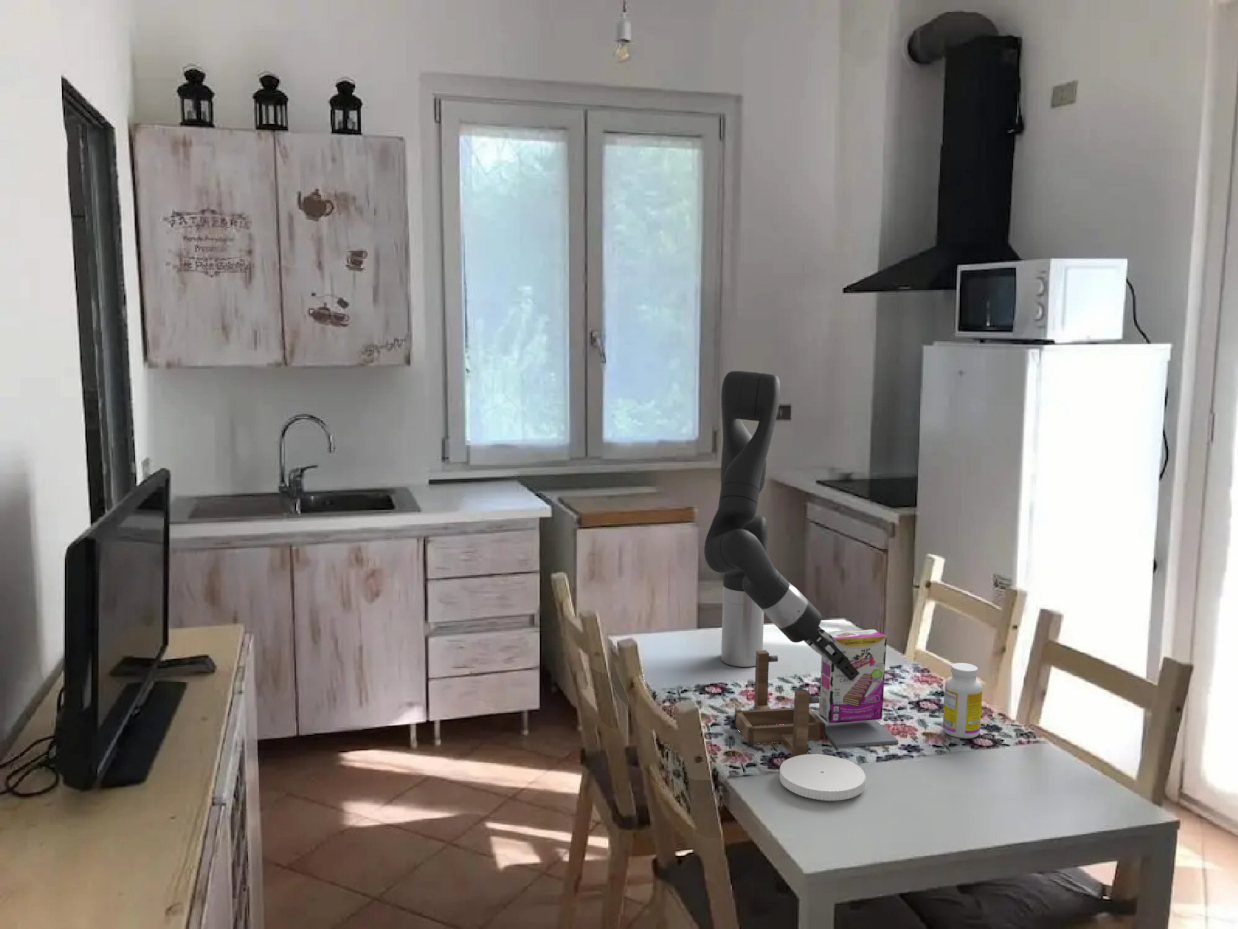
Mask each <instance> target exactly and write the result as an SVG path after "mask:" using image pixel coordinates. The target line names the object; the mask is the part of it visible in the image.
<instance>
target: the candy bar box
mask: <svg viewBox="0 0 1238 929" xmlns="http://www.w3.org/2000/svg"><path fill="white" fill-rule="evenodd" d="M825 632H826V633H827V634H828V635H829V637H830V638H831V639H832V640H833V641H834V642H835V643H836V644H837V645H838V646H839V648H840V649H839V650H840V651H841V652H842V653H843V654H844V655H845V656H846V657H848V659H849V662H850V663H851V664H852V665H853V667H854V668H855V669H856V670H857V671H858V672H859V674H858V675H857V676H856V677H855V678H854V679H853V680H849V679H848V678H847V677H846V676H845V675H844V674H843V673H842V672H841V671H840V670H839V669H837V668H836V667H835V665H834V664H833V663H832V662H831V661H830V660H828V661H827V660H825V659H824V658H823V657H822V656H821V662H820V663H821V664H820V684H819V685H820V686H819V687H820V688H819V703H818V704H819V705H818V706H819V708H818V710H819V716H821V717H822V718H823V719H824V720H826V721H827V722H828V723H842V722H854V721H865V720H877V721H878V720H883V711H884V710H883V707H884V706H883V705H884V690H885V673H886V672H885V671H886V657H887V656H886V655H887V638H888V635H885V634H884V633H882V632H880V631H878V630H876V629H859V630H858V629H857V630H856V629H855V630H840V631H839V630H838V631H825ZM824 655H825V654H824ZM840 657H841V656H840ZM840 657H839V658H840ZM839 658H838V659H839ZM838 659H837V660H838ZM837 660H836V661H837Z"/></svg>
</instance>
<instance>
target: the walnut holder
mask: <svg viewBox="0 0 1238 929" xmlns="http://www.w3.org/2000/svg"><path fill="white" fill-rule="evenodd" d="M778 661H779V657H778V655H770V653H769V652H768V650H766V649H763V650H756V666H755V671H754V673H755V674H754V677H755V678H754V703H753V706H754V707H753V709H747V710H734V727H735V726H736V727H735V728H737V729H738V730H739V731H740V733H741V734H742V735H741V734H740V733H739V734H740V735H741V737H742V736H743V737H744V738H743V737H742V738H743V740H746V741H745V742H746V743H748V744H751V745H759V744H758V743H761V744H760V745H763V744H762V743H766V744H777V742H782V743H781V744H782V745H783V746H784V747H785V748H786V751H788V752H789V754H790V755H791V757H795V756H798V755H799V756H801V755H805V754H806V755H808V746H809V745H808V744H809V742H810V741H812V742H813V741H825V739H826V736H825V723H824V722H823V721H822V720H821V719H820V718H819V717H818V716H817V715H816V714H815V713H814V712H813V711H814V710H813V709H812V708H811V707H810V705H812V704H819V702H820V696H818V695H815V696H811V695H810V693H809V691H807V690H806V689H804V690H803V689H802V690H794V700H793V701H794V702H793V707H782V708H781V707H779V708H771V707H770V706H769V705H768V698H769V697H768V692H769V667H770V666H769V665H770V663H776V662H777V663H778ZM754 708H755V709H756V710H755V709H754ZM776 724H777V725H776ZM779 724H784V725H779ZM760 725H761V726H760ZM763 725H768V726H763ZM737 729H736V730H737ZM738 730H737V731H738ZM739 731H738V732H739ZM772 742H773V743H772ZM774 742H775V743H774ZM748 744H747V745H748Z"/></svg>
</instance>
